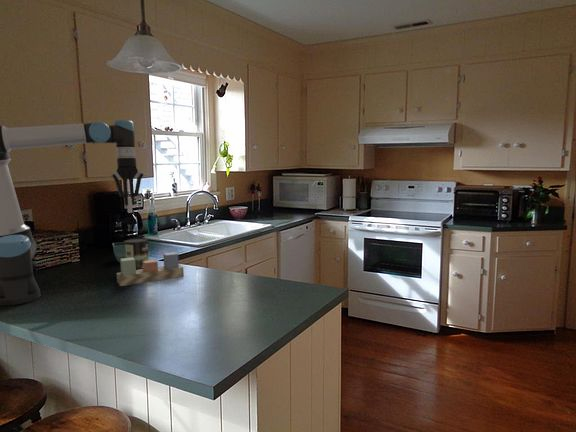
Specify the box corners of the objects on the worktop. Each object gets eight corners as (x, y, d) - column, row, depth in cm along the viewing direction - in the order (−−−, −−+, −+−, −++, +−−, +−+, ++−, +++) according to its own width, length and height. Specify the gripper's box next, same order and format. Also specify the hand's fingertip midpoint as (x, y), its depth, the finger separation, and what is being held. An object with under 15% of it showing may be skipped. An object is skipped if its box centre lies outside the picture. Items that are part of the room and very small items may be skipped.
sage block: (123, 277, 180) (122, 261, 179) (121, 275, 184) (120, 258, 183) (136, 275, 182) (135, 259, 181) (133, 273, 187) (132, 257, 186)
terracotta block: (146, 279, 185) (145, 263, 184) (143, 276, 189) (142, 260, 188) (158, 277, 187) (157, 261, 186) (155, 275, 192) (154, 259, 191)
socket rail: (120, 286, 178) (119, 276, 178) (117, 282, 184) (116, 273, 184) (183, 276, 192) (183, 267, 191) (178, 272, 198) (178, 264, 197)
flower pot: (113, 260, 226) (112, 243, 225) (131, 258, 230) (130, 241, 229) (114, 263, 218) (113, 245, 217) (133, 261, 222) (132, 244, 221)
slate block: (167, 271, 189) (166, 255, 188) (164, 268, 193) (163, 253, 192) (178, 269, 192) (178, 253, 191) (175, 267, 196) (174, 251, 195)
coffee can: (152, 267, 210) (150, 238, 208) (145, 272, 199) (143, 242, 198) (131, 267, 210) (129, 238, 208) (122, 273, 200) (120, 242, 198)
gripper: (111, 157, 180) (115, 214, 183) (144, 157, 187) (147, 212, 190) (108, 157, 186) (112, 212, 189) (140, 157, 193) (143, 210, 196)
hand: (130, 212), depth 190 cm, fingers closed
